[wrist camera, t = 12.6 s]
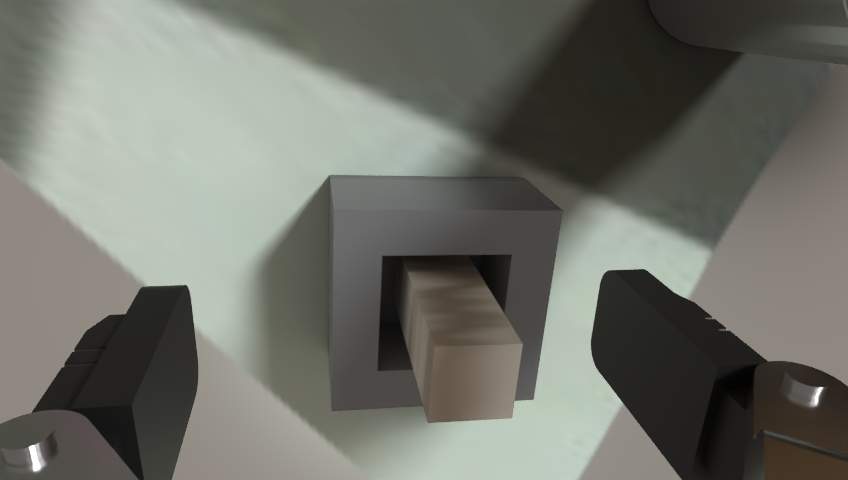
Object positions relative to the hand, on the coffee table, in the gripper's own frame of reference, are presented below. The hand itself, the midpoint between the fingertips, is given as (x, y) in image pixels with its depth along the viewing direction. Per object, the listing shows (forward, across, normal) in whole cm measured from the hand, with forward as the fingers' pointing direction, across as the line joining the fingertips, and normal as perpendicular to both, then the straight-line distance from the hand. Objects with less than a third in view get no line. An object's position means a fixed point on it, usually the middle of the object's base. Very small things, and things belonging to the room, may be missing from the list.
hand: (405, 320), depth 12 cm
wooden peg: (+24, -5, +10) cm, 26 cm away
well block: (+25, -5, +10) cm, 27 cm away
